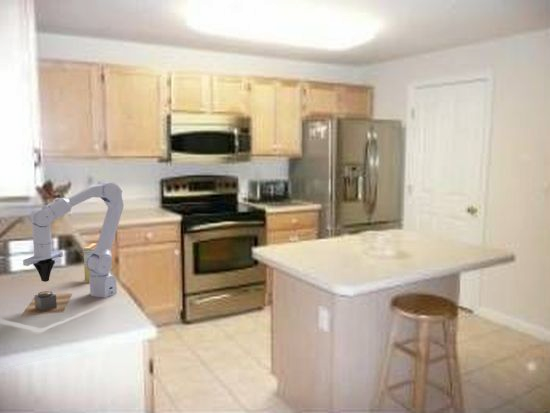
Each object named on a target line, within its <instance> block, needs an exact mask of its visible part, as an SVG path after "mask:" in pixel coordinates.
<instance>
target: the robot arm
mask: <svg viewBox="0 0 550 413" xmlns="http://www.w3.org/2000/svg"><path fill="white" fill-rule="evenodd" d="M122 194H123V190H122V188H121V186H119V185H118V184H117V183H116V182H112V181H105V180H99V181H98V182H95V183H92V184H91V185H89V186H87V187H85V188H84V189H82V190H80V191H79V192H77V193H75V194H73V195H72V196H70V197H67V198H64V197H60V198H59V197H56V198H54V201H53V202H50V203H48V204H47V205H46V204H43V205H41V208H36V209H33V210H32V211H31V212H30V215H29V217H28V218H29V219H28V220H29V221H30V223H31V224H32V241H33V242H32V243H33V253H34V254H33V256H30V257H28V258H26V259H22V263H23V264H22V265H23V266H25V267H28V266H30V265H33V267H35V269H36V270H37V272H38V274H39V277H40V279H41V282H45V283H47V282H49V281H50V277H51V273H52V269H53V267H54V265H55V263H56V262H55V261H56V260H54V259H57V258H63V257H64V253H63V251H62V250H57V251H53V243H52V241H53V240H52V239H53V238H52V230H51V224H52V223H53V221H55V220H57V219H59V218H60V217H62V216H65V215H66V214H68V213H70V212H71V210H72V208H73V207H75V206H76V205H79V204H81V203H83V202H85V201H88V200H89V199H91V198H100V199H101V200H103V202H104V203H105V205H106V206H107V209H106V210H107V211H106V213H105V217H104V221H103V223H102V226H101V230H100V233H99V237H98V240H97V242H96V244H97V246H96V248H95V249H94V250H93V251H92V253H91V255H90V256H89V258H88V259H87V261H86V265H87V267H88V269H90V272H89V280H90V284H89V294H90V296H92V297H98V298H105V299H106V298H108V297H110V296H114V295H115V294H117V293H118V291H117V290H118V289H117V279H116V277H115V276H114V275H112V274H111V273H110V272H111V270H112V266H113V265H112V259H113V256H112V255H113V254H112V252H111V249H112V246H113V244H114V240H115V237H116V233H117V230H118V227H119V223H120V221H121V217H122V213H123V211H124V201H123V196H122Z"/></svg>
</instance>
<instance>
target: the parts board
mask: <svg viewBox="0 0 550 413" xmlns="http://www.w3.org/2000/svg"><path fill="white" fill-rule="evenodd" d="M54 294H55V295H56V302H57V308H53V309H49V310H46V311H42V312H41V311H40V310H38V309H36V308H35V297H33V298H32V299H31V302H29V304H28V305H27V307H26V308H25V309H24V311H23V312H22V313H21V315H20V316H30V315H31V316H32V315H33V316H34V315H44V314H45V315H47V314H56V313H64V311H65V309H66V307H67V306H68V303H69V301H70V299H71V298H72V296H73V292H70V293H69V292H68V293H67V292H66V293H54Z"/></svg>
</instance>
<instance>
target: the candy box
mask: <svg viewBox="0 0 550 413" xmlns="http://www.w3.org/2000/svg"><path fill="white" fill-rule="evenodd" d="M96 246H97V243H96V242H95V243H90V244H88V245H87V246H84V247H83V264H84V266H83V267H84V270H83V271H84V284H86V285H90V280H89V272H90V269H88V267H87V265H86V261H87V259H88V258H89V256H90V255H91V253H92V251H93V250H94V249H95V248H96Z"/></svg>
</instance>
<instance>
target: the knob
mask: <svg viewBox="0 0 550 413" xmlns="http://www.w3.org/2000/svg"><path fill="white" fill-rule="evenodd" d="M55 294H56V293H53V292H52V291H51V290H47V291H39V292H38V293H37V294H35V295H34V297H35V308H36V309H38V310H40V311H41V312H42V311H46V310H49V309H53V308H57V302H56V295H55ZM34 297H33V298H34Z"/></svg>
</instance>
